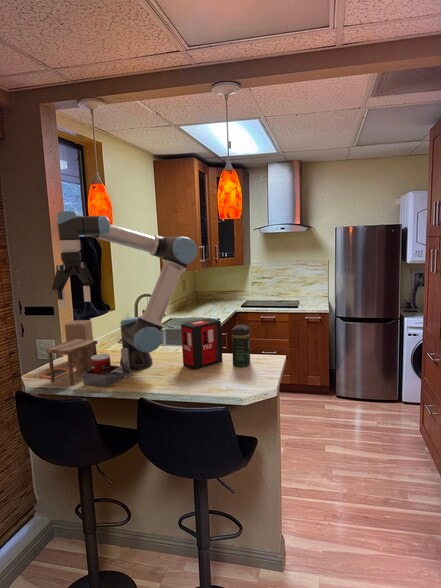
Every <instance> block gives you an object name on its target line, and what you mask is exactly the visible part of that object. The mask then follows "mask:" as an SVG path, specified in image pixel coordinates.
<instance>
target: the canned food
mask: <svg viewBox="0 0 441 588" xmlns="http://www.w3.org/2000/svg"><path fill="white" fill-rule="evenodd" d="M111 365H112V364H111V357H110V354H107V353H100V354H99V353H97V355H94V356H92V357H91V369H92V373H96V374H104V375H105V374H107V373H109V372H111Z"/></svg>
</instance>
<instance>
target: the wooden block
mask: <svg viewBox="0 0 441 588" xmlns="http://www.w3.org/2000/svg"><path fill="white" fill-rule="evenodd" d="M92 326H93V324H92V320H90V319H83V320H81V319H79V320H75V319H74V320H72V321H70V322H68V323H66V324H65V325H64V330H65V342H67V341H70V340H73V339H83V340H94V336H93V334H94V333H93V327H92ZM71 355H72V364H76V362H75V353H73V354H71Z"/></svg>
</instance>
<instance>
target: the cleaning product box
mask: <svg viewBox="0 0 441 588" xmlns="http://www.w3.org/2000/svg"><path fill="white" fill-rule="evenodd" d="M180 331H181V345H182V346H181V348H182V350H181V351H182V362H183V363H182V365H183V367H185V368H187V369H190V370H193V371H197V370H200V369H204V368H207V367H211V366H214V365H216V364H219V363H223V344H222V343H223V342H222V341H223V339H222V321H221V320H218V319H214V318H209V317H207V318H204V319H200V320H195V321H190V322H186V323H181V324H180Z"/></svg>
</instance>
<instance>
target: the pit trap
mask: <svg viewBox="0 0 441 588" xmlns="http://www.w3.org/2000/svg"><path fill="white" fill-rule="evenodd" d="M74 372H75V370H74V369H73V373H74ZM67 375H69V368H61V367H56V368H54V376H55V381H56V380H59V379H61V378H63V377H65V376H67ZM39 377H42V378H41V379H46V380H47V379H48V380H51V375H50V370H49V371H47V372H44V373H42V374H40V375H38V378H39Z"/></svg>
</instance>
